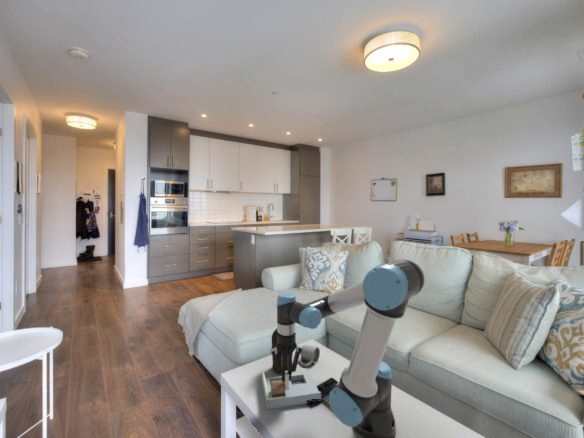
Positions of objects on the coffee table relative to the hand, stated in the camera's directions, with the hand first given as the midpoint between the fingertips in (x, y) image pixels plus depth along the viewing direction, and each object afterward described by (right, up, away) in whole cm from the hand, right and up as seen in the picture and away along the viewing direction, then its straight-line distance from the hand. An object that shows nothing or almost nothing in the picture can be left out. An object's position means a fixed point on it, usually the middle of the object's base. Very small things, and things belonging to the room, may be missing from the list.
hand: (286, 388), depth 116 cm
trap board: (+2, -4, +4) cm, 6 cm away
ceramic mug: (+11, -3, +28) cm, 30 cm away
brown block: (-3, -2, 0) cm, 4 cm away
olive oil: (-2, -4, +21) cm, 22 cm away
